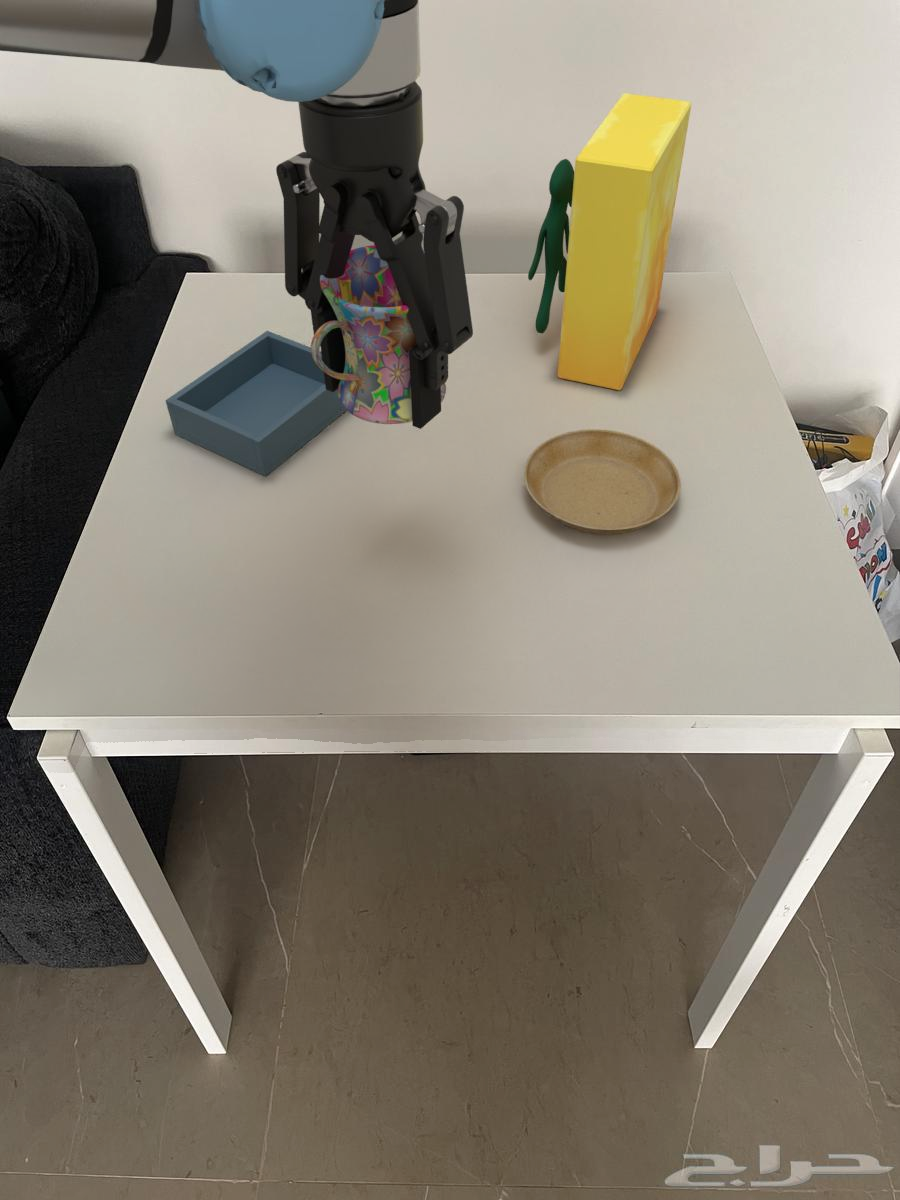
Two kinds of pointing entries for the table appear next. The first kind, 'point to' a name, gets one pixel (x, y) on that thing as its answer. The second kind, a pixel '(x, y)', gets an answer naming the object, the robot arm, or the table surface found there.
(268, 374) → the tub
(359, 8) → the robot arm
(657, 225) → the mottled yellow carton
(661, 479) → the plant saucer
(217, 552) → the table surface
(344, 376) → the mug
